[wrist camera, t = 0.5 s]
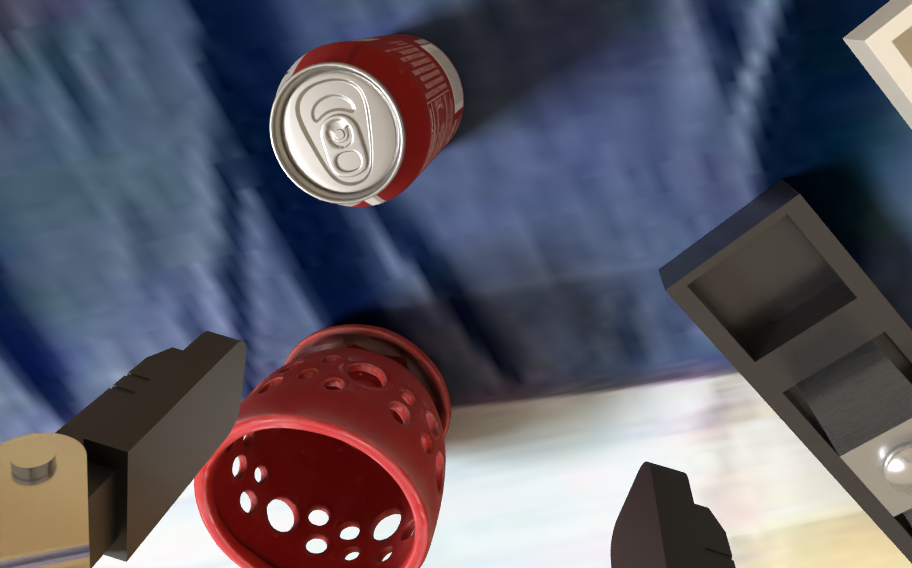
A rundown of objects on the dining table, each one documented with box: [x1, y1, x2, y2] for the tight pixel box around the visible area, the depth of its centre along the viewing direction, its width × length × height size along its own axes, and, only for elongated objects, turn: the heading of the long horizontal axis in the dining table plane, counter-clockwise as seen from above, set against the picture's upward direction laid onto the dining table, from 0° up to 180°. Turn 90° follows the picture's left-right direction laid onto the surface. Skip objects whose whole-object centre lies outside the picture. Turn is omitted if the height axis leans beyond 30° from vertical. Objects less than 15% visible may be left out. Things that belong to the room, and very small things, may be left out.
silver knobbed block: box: [796, 340, 912, 517], centre depth 34 cm, size 4×4×9 cm
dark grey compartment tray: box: [659, 179, 912, 563], centre depth 37 cm, size 8×24×3 cm, turn 44°
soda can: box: [270, 34, 464, 207], centre depth 31 cm, size 7×7×12 cm
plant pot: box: [194, 324, 451, 568], centre depth 39 cm, size 13×13×12 cm
